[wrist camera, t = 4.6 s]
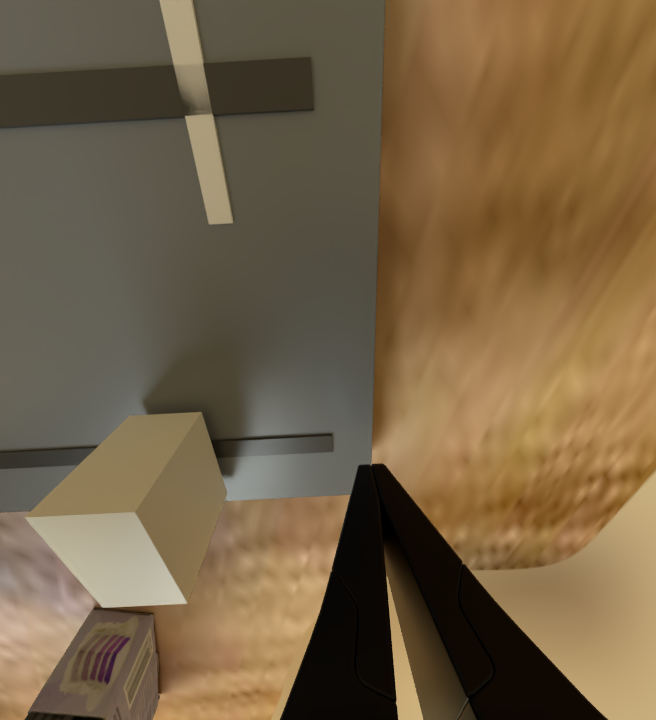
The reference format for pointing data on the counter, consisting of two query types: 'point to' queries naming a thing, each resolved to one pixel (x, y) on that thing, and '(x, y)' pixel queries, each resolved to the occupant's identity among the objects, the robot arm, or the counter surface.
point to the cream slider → (138, 511)
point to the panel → (190, 234)
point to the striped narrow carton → (104, 671)
